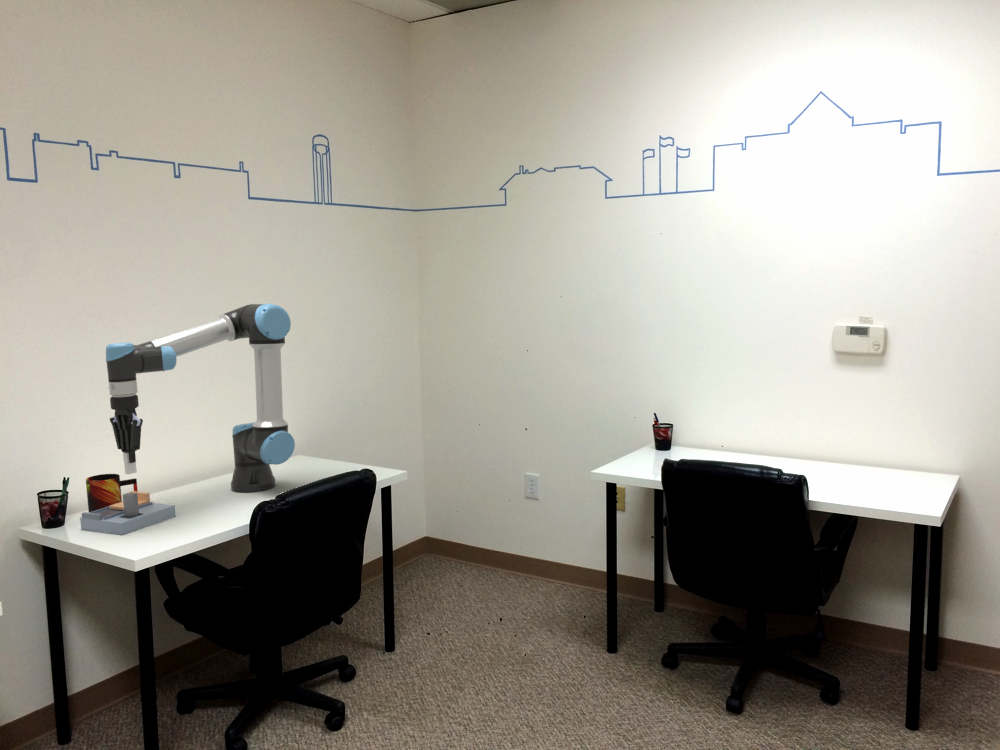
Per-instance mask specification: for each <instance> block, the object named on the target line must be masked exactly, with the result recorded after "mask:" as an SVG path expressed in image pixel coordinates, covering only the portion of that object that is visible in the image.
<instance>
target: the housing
mask: <svg viewBox="0 0 1000 750" xmlns="http://www.w3.org/2000/svg"><path fill="white" fill-rule="evenodd" d="M176 515H177V514H176V505H175V504H166V503H159V502H153V501H150V502H149V503H146V504H143V505H140V506H139V516H137V517H134V518H131V519H129V518H125V517H124V510H118V509H110V508H109V506H108V507H105V508H102V509H99V510H95V511H92V512H89V511H88V512H87V511H86V512H85V511H83V512H81V517H80V519H79V520H80V521H79V522H80V529H81V530H83V531H89V532H90V531H91V532H99V533H104V534H111V535H120V536H124V535H126V534H129V533H132V532H135V531H138V530H141V529H143V528H146V527H150V526H152V525H154V524H157V523H161V522H163V521H166V520H169V519H171V518H175V517H176Z"/></svg>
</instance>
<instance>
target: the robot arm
mask: <svg viewBox="0 0 1000 750" xmlns="http://www.w3.org/2000/svg"><path fill="white" fill-rule="evenodd" d="M291 323H292V322H291V318H290V316H289V313H288V312H287V311H286V310H285V309H284V308H283V307H281V306H280V305H278V304H273V303H259V304H258V303H257V304H256V303H251V304H245V305H243V306H240V307H238V308H236V309H233V310H230V311H228V312H225V313H222V314H219V316H218V318H217V319H213V320H211V321H207V322H204V323H201V324H198V325H195V326H192V327H189V328H185V329H182V330H180V331H177V332H174V333H170V334H167V335H164V336H161V337H158V338H156V339H155V338H154V339H152V340H149V341H146V342H142V343H139V344H133V343H132V342H116V343H115V342H114V343H109V344H107V345H106V346H105V363H106V371H107V377H108V378H107V379H108V380H107V381H108V389H109V395H110V398H109V402H110V409H111V410H112V411H113V410H114V415H113V417H109V422H110V424H111V427H112V431H113V434H114V439H115V442H116V446H117V447H116V448H117V449H118V450H121V452H122V453H123V455H122V456H123V463H124V464H123V465H124V473H125V475H132V474H136V473H137V463H136V462H137V458H136V452H137V451H139V450H140V449H141V439H142V438H141V436H142V426H143V422H144V420H143V418H138V415H137V412H136V409H137V408H139V405H140V404H139V396H138V394H137V393H138V391H139V390H138V382H137V374H144V373H156V372H166V371H172V370H173V369H175V367H176V365H177V357H181V356H183V355H186V354H188V353H191V352H195V351H197V350H200V349H202V348H206V347H209V346H212V345H214V344H217V343H221V342H224V341H228V342H233V341H235V340H239V339H248V342H249V343H248V345H249V346H250V347H251V348H252V349H253V351H254V353H253V354H254V357H253V358H254V374H255V376H254V377H255V378H254V379H255V402H256V420H255V421H253V422H249V423H242V424H236V425H234V426H233V427H232V434H231V435H232V446H233V447H232V448H233V460H234V469H233V473H232V474H233V475H232V479H231V481H230V490H231V491H233V492H236V493H255V492H263V491H266V490H269V489H272V488H274V487H275V486H276V478H275V476H274V475H273V470H272V468H271V466H270V465H282V464H283V463H286V462H287V461H288V460H289V459H290V458H291V456H292V455H293V453H294V451H295V447H296V445H295V444H296V442H295V438H294V436H293V435H291V433H290V432H289V424H288V422H287V420H285V419H284V409H283V408H284V406H283V405H284V404H283V382H282V380H283V379H282V378H283V377H282V352H281V350H282V348H283V347H284V346H285V345H286V342H285V341H286V340H285V339H286V336H287V335H288V333H289V332H290V330H291Z"/></svg>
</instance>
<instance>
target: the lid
mask: <svg viewBox="0 0 1000 750" xmlns="http://www.w3.org/2000/svg"><path fill="white" fill-rule="evenodd" d="M128 493H137V494H138V506H140V505H143V504H146V503H149V502H151V496H150V495H151V494H150V492H146V491H145V492H144V491H138V492H136V491H134V490H132V491H129V492H128ZM109 508H110V509H118V510H124V505H123V501H122V502H120V503H117V504H113V505H110V506H109Z"/></svg>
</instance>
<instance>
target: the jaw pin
mask: <svg viewBox="0 0 1000 750" xmlns="http://www.w3.org/2000/svg"><path fill="white" fill-rule="evenodd" d="M122 502H123V505H124V517H125V518H129V519H131V518H134V517H137V516H139V506H138V494H137V493H129V492H127V493H123V494H122Z"/></svg>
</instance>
